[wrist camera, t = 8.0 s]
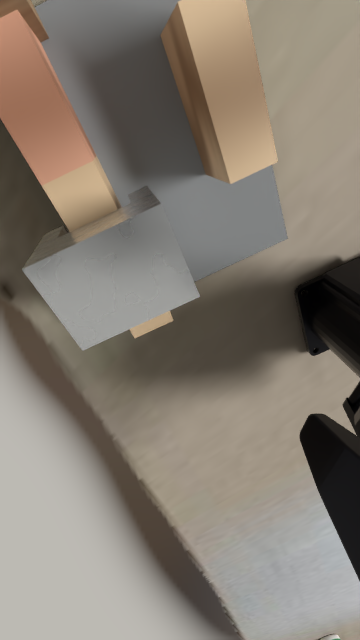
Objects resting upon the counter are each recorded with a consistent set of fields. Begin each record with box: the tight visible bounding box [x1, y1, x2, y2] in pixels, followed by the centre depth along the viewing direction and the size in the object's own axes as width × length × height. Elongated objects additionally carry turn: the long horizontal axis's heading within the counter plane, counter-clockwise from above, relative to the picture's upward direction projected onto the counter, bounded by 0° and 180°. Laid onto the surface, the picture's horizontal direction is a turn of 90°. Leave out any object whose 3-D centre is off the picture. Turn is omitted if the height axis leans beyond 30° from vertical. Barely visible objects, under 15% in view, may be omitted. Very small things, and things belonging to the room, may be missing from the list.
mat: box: [0, 0, 288, 282], centre depth 16 cm, size 14×12×1 cm
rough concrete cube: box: [22, 186, 200, 351], centre depth 14 cm, size 4×5×5 cm
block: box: [0, 0, 278, 338], centre depth 13 cm, size 14×10×6 cm
